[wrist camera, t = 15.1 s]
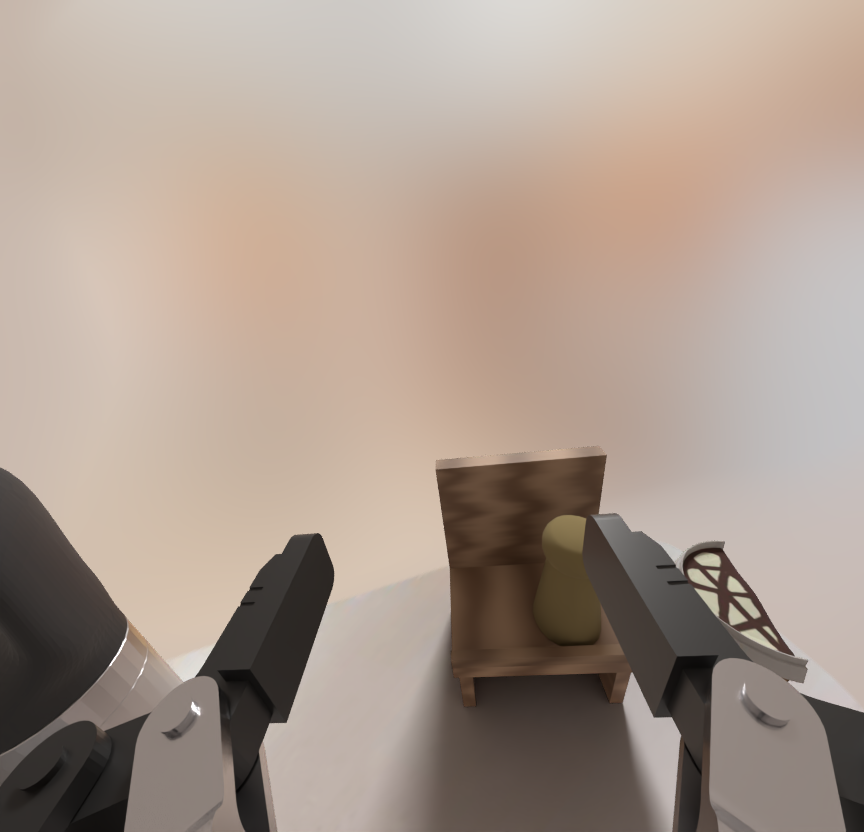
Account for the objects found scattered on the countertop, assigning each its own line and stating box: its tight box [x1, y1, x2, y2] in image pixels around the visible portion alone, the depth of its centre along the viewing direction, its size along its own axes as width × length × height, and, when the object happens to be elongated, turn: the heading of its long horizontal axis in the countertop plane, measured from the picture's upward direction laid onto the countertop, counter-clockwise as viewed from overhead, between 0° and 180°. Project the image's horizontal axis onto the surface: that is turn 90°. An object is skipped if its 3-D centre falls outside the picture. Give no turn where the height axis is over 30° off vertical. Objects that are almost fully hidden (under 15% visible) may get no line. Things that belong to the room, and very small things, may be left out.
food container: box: [675, 541, 808, 683], centre depth 31 cm, size 12×6×10 cm, turn 165°
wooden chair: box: [436, 446, 632, 707], centre depth 31 cm, size 16×12×22 cm
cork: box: [533, 515, 601, 646], centre depth 28 cm, size 6×6×11 cm
